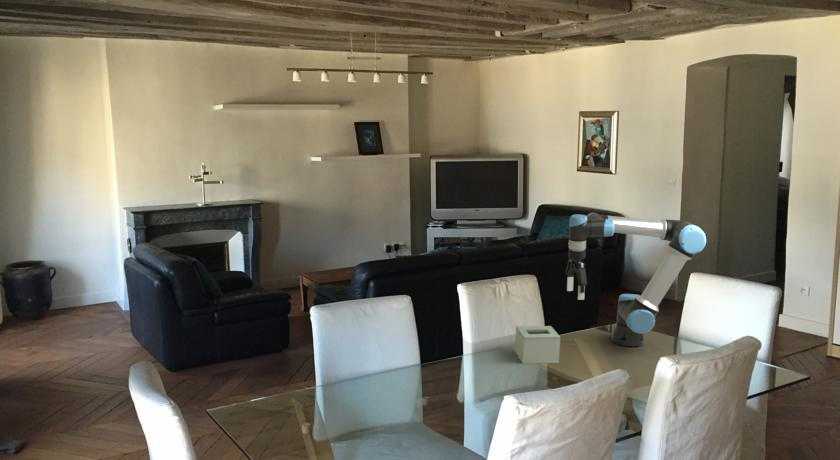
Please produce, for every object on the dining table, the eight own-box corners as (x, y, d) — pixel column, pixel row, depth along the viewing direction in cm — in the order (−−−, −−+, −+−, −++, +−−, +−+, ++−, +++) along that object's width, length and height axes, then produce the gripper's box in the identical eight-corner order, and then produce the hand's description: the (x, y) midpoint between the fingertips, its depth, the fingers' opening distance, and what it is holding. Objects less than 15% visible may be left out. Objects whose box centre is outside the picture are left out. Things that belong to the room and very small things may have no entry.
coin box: (548, 351, 327) (550, 326, 325) (558, 363, 314) (560, 337, 311) (514, 351, 325) (516, 326, 323) (522, 363, 312) (524, 337, 309)
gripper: (559, 243, 333) (557, 287, 337) (579, 256, 308) (577, 303, 313) (574, 242, 334) (573, 286, 338) (596, 255, 310) (594, 302, 314)
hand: (575, 295), depth 325 cm, fingers open, 13 cm apart
